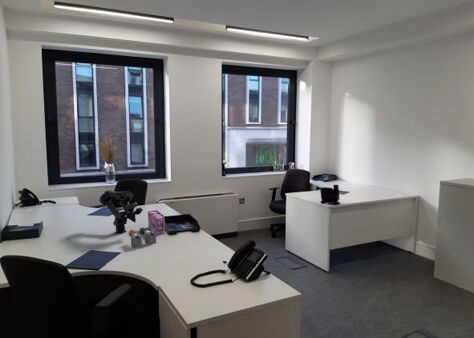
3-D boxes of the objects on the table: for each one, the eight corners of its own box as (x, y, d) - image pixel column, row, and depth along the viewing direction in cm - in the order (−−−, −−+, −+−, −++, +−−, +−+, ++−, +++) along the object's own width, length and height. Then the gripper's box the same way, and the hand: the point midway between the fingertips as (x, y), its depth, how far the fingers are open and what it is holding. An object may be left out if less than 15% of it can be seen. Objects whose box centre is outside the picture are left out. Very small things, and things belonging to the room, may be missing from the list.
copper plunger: (128, 237, 260) (128, 230, 260) (135, 235, 263) (135, 229, 262) (132, 240, 253) (132, 233, 252) (139, 239, 256) (139, 232, 255)
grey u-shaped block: (144, 243, 261) (144, 233, 260) (151, 241, 265) (151, 231, 264) (149, 244, 257) (148, 234, 256) (156, 242, 262) (155, 232, 261)
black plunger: (139, 234, 265) (139, 228, 265) (145, 233, 269) (144, 226, 268) (146, 237, 259) (146, 230, 259) (152, 235, 263) (152, 229, 263)
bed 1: (131, 246, 255) (130, 235, 254) (139, 244, 258) (139, 234, 257) (133, 248, 250) (133, 237, 249) (142, 246, 254) (141, 236, 253)
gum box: (166, 233, 283) (165, 216, 281) (156, 235, 280) (155, 218, 278) (157, 225, 304) (157, 210, 302) (148, 227, 301) (147, 211, 299)
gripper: (119, 201, 266) (128, 218, 260) (140, 197, 280) (149, 213, 274) (113, 210, 272) (122, 227, 266) (135, 205, 286) (144, 221, 280)
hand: (135, 222), depth 272 cm, fingers closed
